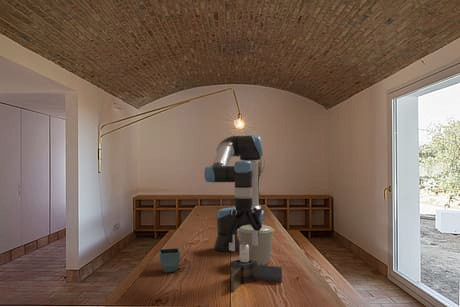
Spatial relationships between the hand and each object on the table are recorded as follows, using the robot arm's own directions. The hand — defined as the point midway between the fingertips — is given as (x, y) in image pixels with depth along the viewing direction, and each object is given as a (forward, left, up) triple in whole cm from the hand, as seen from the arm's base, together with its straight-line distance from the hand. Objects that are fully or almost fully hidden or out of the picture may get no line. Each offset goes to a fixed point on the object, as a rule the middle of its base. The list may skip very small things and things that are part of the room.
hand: (243, 247), depth 147 cm
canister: (-20, -12, -13) cm, 27 cm away
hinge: (+3, +5, -13) cm, 14 cm away
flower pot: (+17, -31, -13) cm, 38 cm away
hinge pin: (0, 0, -13) cm, 13 cm away
